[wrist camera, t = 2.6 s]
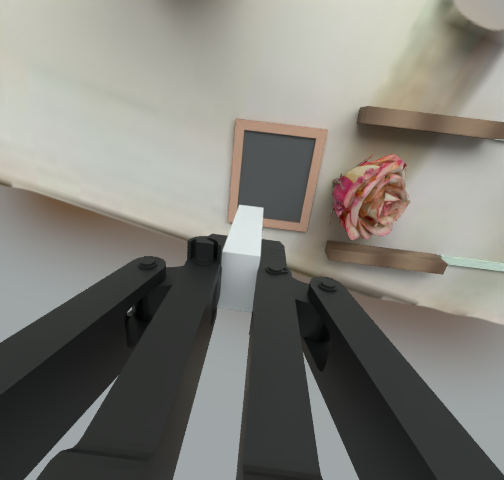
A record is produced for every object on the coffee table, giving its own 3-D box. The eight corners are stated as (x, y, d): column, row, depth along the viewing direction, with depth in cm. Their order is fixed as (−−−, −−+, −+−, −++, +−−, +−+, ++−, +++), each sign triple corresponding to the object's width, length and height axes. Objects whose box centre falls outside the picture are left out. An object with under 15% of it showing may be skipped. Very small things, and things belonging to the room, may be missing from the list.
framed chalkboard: (326, 129, 29) (327, 129, 29) (305, 230, 34) (306, 231, 34) (236, 118, 29) (235, 118, 29) (228, 220, 34) (227, 222, 34)
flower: (299, 221, 32) (349, 260, 26) (315, 143, 27) (382, 171, 21) (355, 206, 36) (408, 236, 31) (378, 135, 31) (447, 157, 25)
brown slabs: (493, 123, 28) (513, 123, 26) (431, 264, 35) (442, 274, 33) (360, 107, 28) (368, 106, 26) (324, 250, 35) (328, 259, 33)
